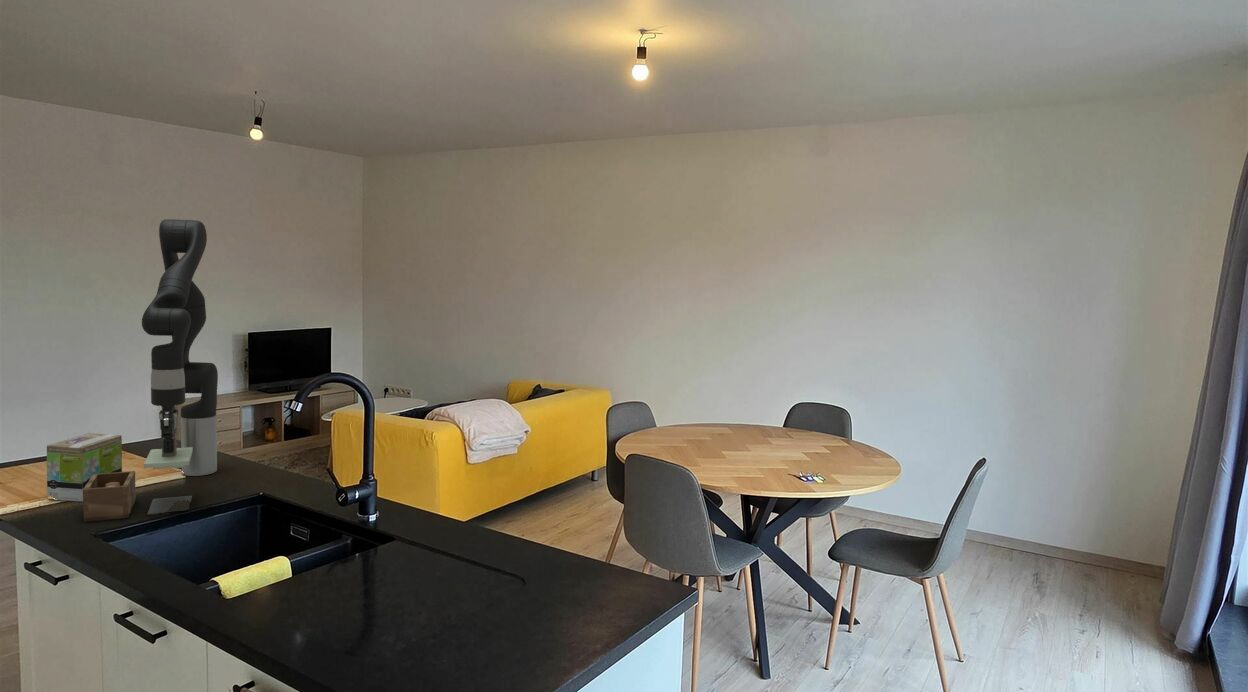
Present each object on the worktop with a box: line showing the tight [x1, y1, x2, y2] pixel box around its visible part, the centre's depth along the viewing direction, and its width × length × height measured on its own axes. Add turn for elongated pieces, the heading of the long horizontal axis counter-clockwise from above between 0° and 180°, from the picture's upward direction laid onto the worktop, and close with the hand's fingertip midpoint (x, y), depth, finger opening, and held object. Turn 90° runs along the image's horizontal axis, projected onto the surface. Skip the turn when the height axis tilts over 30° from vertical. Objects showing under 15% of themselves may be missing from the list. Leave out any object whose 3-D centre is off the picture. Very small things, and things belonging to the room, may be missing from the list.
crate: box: [82, 470, 137, 523], centre depth 189 cm, size 14×9×8 cm, turn 27°
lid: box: [143, 430, 193, 470], centre depth 193 cm, size 15×10×8 cm, turn 26°
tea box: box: [46, 432, 123, 503], centre depth 201 cm, size 15×10×15 cm, turn 179°
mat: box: [147, 495, 193, 516], centre depth 195 cm, size 12×9×1 cm
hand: (169, 450), depth 193 cm, fingers closed on lid, 3 cm apart
